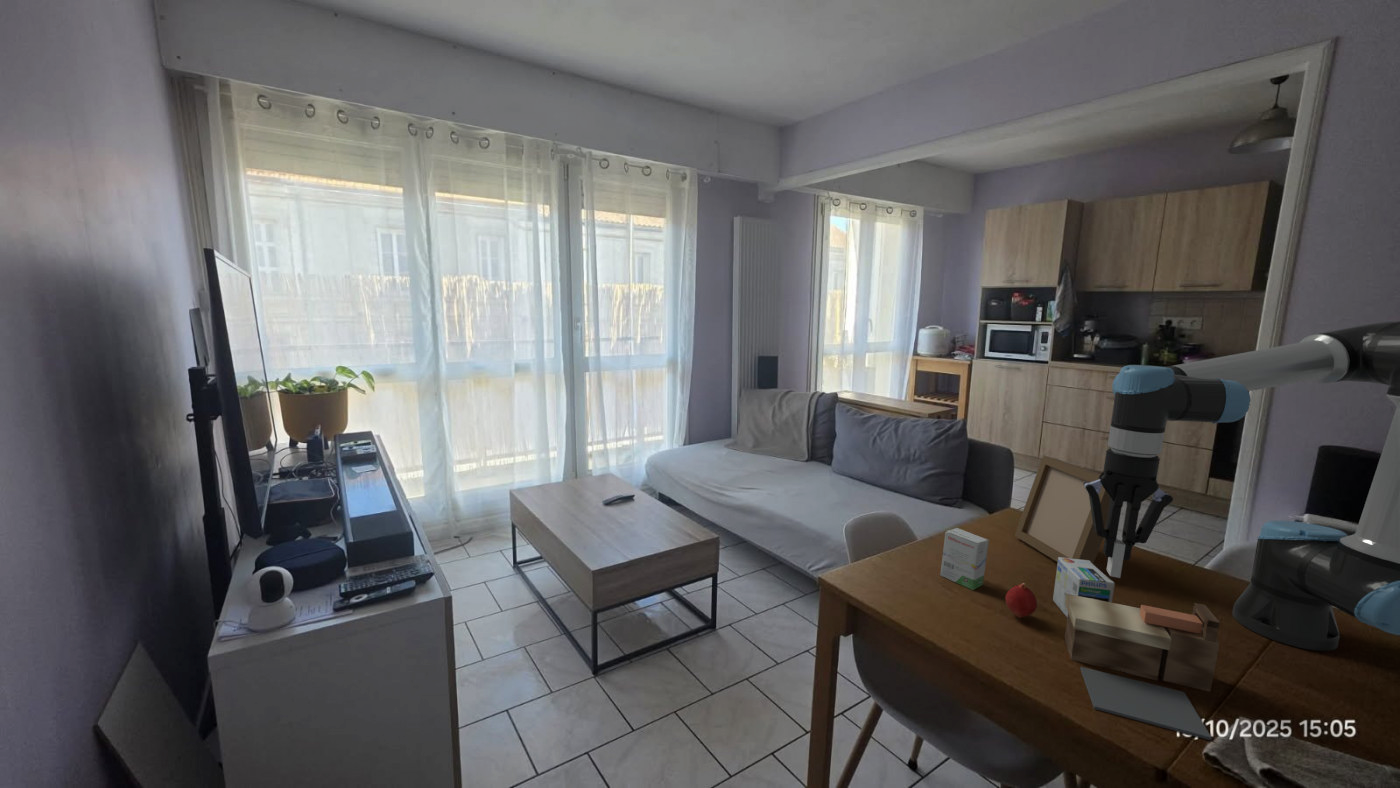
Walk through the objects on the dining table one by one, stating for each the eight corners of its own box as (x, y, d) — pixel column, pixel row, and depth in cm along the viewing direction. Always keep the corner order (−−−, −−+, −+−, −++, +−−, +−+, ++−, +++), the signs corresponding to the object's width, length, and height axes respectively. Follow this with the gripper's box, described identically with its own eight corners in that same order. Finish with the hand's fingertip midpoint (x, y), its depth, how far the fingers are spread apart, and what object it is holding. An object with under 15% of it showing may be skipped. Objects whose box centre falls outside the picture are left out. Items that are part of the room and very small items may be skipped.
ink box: (939, 575, 133) (943, 530, 131) (951, 570, 136) (955, 526, 134) (973, 591, 126) (978, 544, 124) (984, 584, 129) (989, 538, 127)
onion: (998, 608, 119) (1002, 575, 117) (1024, 609, 118) (1029, 576, 117) (1012, 624, 113) (1017, 589, 111) (1040, 625, 113) (1045, 590, 111)
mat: (1183, 694, 93) (1184, 692, 93) (1211, 740, 83) (1211, 737, 83) (1080, 669, 99) (1080, 666, 99) (1094, 708, 89) (1094, 706, 89)
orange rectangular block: (1194, 625, 97) (1196, 615, 96) (1200, 634, 94) (1202, 623, 94) (1139, 614, 100) (1141, 604, 100) (1144, 622, 98) (1145, 612, 97)
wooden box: (1195, 669, 99) (1207, 604, 97) (1211, 693, 93) (1224, 624, 91) (1064, 639, 108) (1072, 578, 106) (1071, 659, 102) (1080, 595, 100)
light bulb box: (1109, 631, 111) (1116, 583, 109) (1073, 626, 112) (1079, 579, 111) (1083, 603, 121) (1090, 559, 120) (1051, 599, 123) (1056, 556, 121)
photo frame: (1073, 576, 134) (1088, 480, 130) (1013, 538, 155) (1024, 455, 151) (1127, 574, 135) (1143, 479, 131) (1060, 537, 157) (1072, 455, 153)
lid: (1151, 621, 102) (1153, 611, 102) (1169, 650, 94) (1171, 638, 93) (1064, 603, 108) (1066, 593, 108) (1074, 628, 100) (1075, 618, 99)
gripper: (1171, 451, 96) (1150, 573, 100) (1084, 442, 102) (1067, 557, 106) (1187, 462, 90) (1164, 591, 94) (1093, 451, 95) (1075, 574, 99)
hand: (1113, 573), depth 100 cm, fingers closed
